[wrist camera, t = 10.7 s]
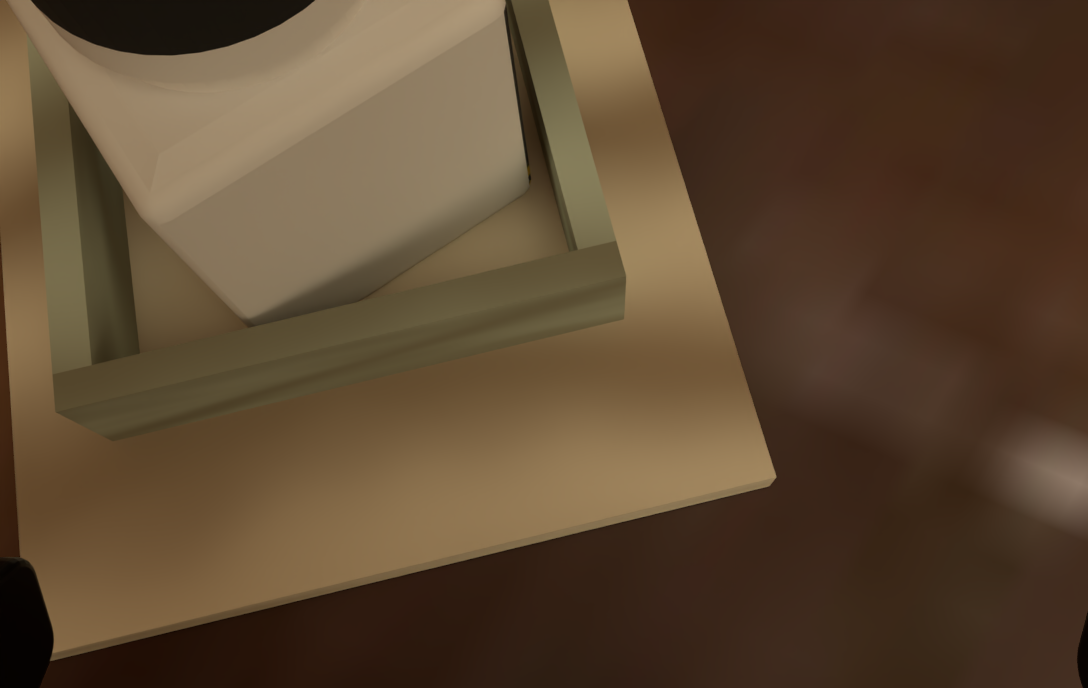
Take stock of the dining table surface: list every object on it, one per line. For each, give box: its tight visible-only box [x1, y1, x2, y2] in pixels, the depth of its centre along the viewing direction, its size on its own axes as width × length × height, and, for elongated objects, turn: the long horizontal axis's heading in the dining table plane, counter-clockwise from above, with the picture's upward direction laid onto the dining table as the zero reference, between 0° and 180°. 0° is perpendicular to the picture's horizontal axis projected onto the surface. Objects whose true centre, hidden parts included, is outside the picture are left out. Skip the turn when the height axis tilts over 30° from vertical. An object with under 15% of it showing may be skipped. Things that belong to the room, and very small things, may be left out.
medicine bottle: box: [6, 0, 531, 328], centre depth 19 cm, size 7×7×12 cm
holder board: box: [0, 0, 776, 661], centre depth 24 cm, size 20×16×4 cm
